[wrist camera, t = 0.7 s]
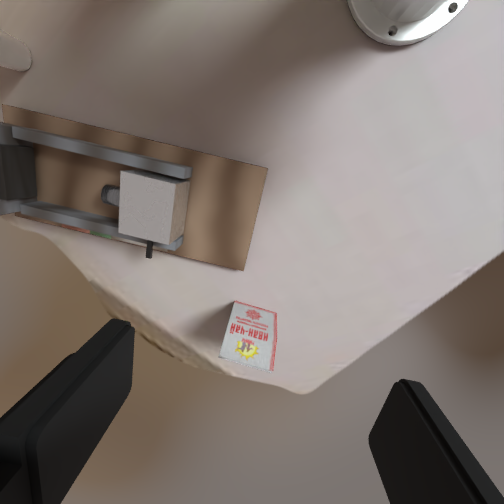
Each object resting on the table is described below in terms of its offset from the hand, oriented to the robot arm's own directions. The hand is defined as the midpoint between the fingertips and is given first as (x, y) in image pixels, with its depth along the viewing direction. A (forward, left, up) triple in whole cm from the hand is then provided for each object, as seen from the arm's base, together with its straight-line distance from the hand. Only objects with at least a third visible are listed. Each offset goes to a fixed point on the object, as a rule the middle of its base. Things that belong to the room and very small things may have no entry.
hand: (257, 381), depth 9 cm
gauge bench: (+1, -18, -27) cm, 32 cm away
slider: (+2, -15, -25) cm, 29 cm away
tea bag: (+16, +1, -27) cm, 31 cm away
